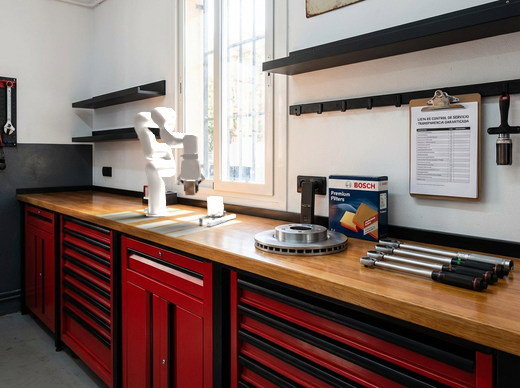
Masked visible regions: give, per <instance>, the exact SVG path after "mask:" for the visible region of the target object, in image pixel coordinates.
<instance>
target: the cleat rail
mask: <svg viewBox="0 0 520 388" xmlns="http://www.w3.org/2000/svg"><path fill="white" fill-rule="evenodd" d="M236 216H237V215H236V213H235V214H234V213H231V214H227V215H226V216H225V217H223V216H222V217H219V218H215V220H212V219H211V220H210V221H207V222H206V226H207V227H213V226H217V225H219V224H222V223H225V222H227V221H231V220H233V219H236Z"/></svg>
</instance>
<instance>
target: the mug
mask: <svg viewBox="0 0 520 388" xmlns="http://www.w3.org/2000/svg"><path fill="white" fill-rule="evenodd" d="M224 209H225V208H224V203H223V197H222V196H209V197H207V216H208V217H211V218H212V214H215V218H216V217H221V216H222V217H223V211H224Z"/></svg>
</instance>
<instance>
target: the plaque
mask: <svg viewBox="0 0 520 388" xmlns="http://www.w3.org/2000/svg"><path fill="white" fill-rule="evenodd" d="M195 185H196V182H195V180H187V181H185V191H184V194H185V196H195V195H197V194H198V192H197V193H195Z"/></svg>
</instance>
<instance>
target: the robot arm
mask: <svg viewBox="0 0 520 388" xmlns="http://www.w3.org/2000/svg"><path fill="white" fill-rule="evenodd" d="M176 119H177V115H176V112H175V111H174V110H173V109H172V108H169V107H168V108H167V107H154V108H152V109H151V110H150V111H149V112H146V111H143V112H142V111H141V112H138V113H136V114H135V115H134V118H133V128H134V130H135V131H134V132H136V134H137V136H138V139H139V141H140V146H141V149H142V152H143V155H144V157H145V159H147V160H149V161H147V163H146V164H145V168H144V169H145V174H146V179H147V180H146V181H147V194H148V195H147V199H148V207H145V208H144V209H143V212H146V213H145V215H146V217H155V218H156V217H166V216H169V212H167V208H166V203H167V202H166V184H165V181H164V179H163V177H166V178H167V177H172V176H174V175H175V174H176V170H177V168H176V163H175V160H174V156H173V154H172V149H174V148H175V149H179V148H180V149H182V155H181V154H180V156H179V157H180V158H181V159H182V160H181V162H180V174H179V175H178V177H177V178H176V180H177V181H179V182H180V183H181V184H182V185H183V191H184V192H185V181H188V180H195V182H196V185H195V193H197V194H198V192H199V191H200V190H199V185H200V184H202V182H203V181H205V180H206V177H205V176H204V175H203V174H202V168H201V162H200V160H199V155H198V154H199V143H198V134H197V133H194V132H191V133H189V132H186V133H181V132H180V133H179V132H177V133H176V132H173V131H174V130H175V127H176V122H175V121H176ZM149 128H155V129H159V137H160V139H161V141H162V142H163V143H162V142H161V143H159V142H157V141H156V137H155V134H153V132H152V131H151V130H150V129H149ZM171 148H172V149H171Z"/></svg>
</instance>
